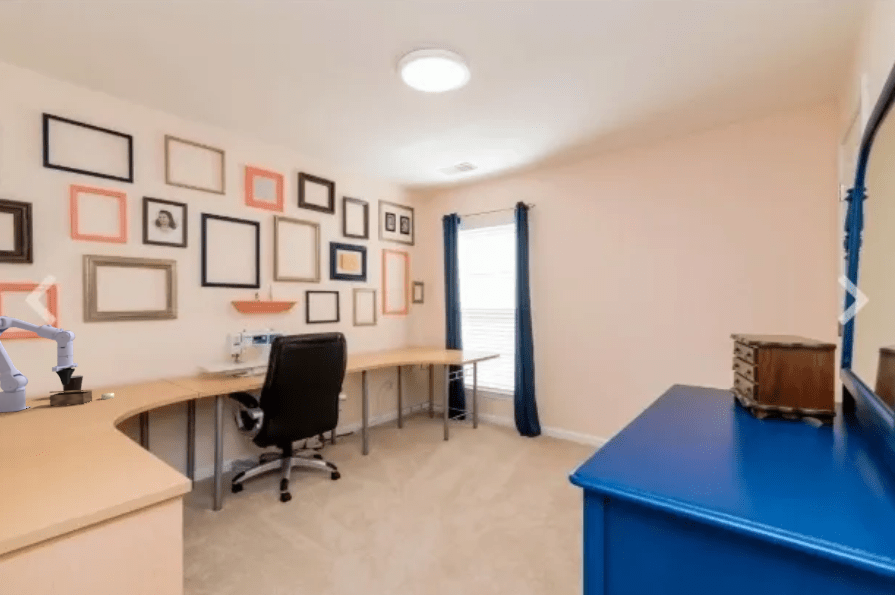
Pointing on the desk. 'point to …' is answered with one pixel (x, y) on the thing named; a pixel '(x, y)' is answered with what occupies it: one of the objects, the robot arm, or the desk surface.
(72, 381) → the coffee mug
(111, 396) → the cream domed disc
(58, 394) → the walnut box
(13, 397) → the robot arm
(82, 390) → the lid
